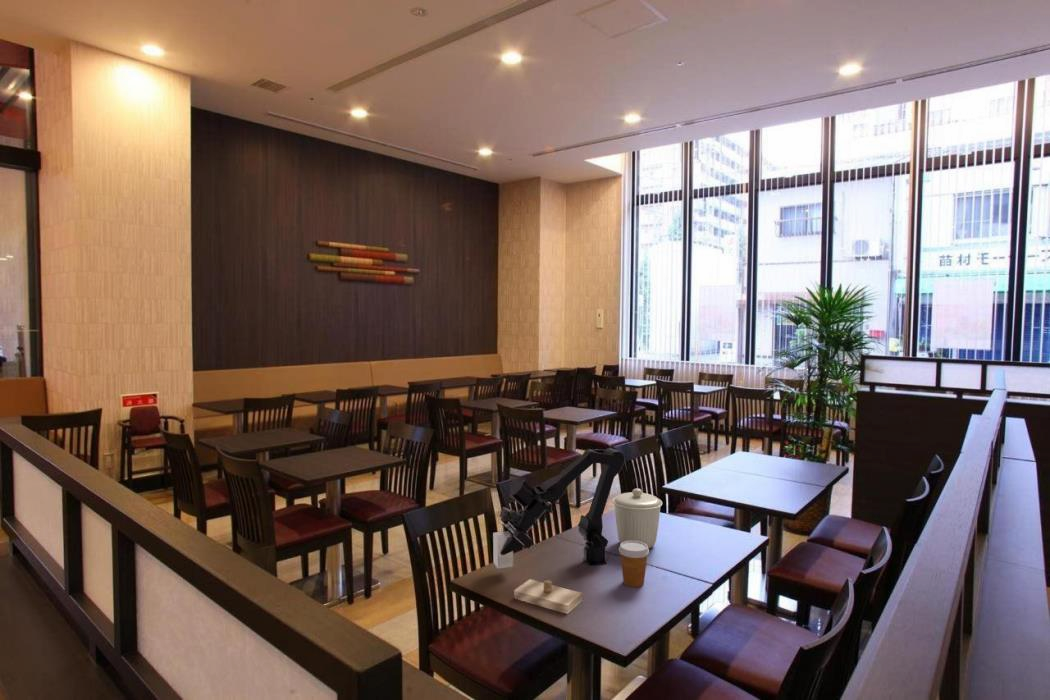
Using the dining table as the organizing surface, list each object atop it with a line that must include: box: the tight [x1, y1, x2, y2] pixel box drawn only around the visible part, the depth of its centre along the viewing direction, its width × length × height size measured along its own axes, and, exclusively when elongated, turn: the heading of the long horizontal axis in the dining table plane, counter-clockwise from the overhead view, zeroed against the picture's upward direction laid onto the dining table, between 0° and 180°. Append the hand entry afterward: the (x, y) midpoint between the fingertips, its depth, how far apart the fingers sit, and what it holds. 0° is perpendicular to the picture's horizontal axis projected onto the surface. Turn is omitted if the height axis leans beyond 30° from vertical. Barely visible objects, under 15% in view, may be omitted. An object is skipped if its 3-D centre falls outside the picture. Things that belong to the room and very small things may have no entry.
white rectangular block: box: [492, 530, 514, 569], centre depth 195 cm, size 5×5×10 cm
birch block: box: [513, 578, 583, 615], centre depth 177 cm, size 18×9×6 cm, turn 58°
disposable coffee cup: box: [618, 541, 650, 588], centre depth 188 cm, size 10×10×12 cm
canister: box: [612, 488, 663, 549], centre depth 220 cm, size 18×18×21 cm
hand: (499, 551), depth 195 cm, fingers closed on white rectangular block, 5 cm apart
